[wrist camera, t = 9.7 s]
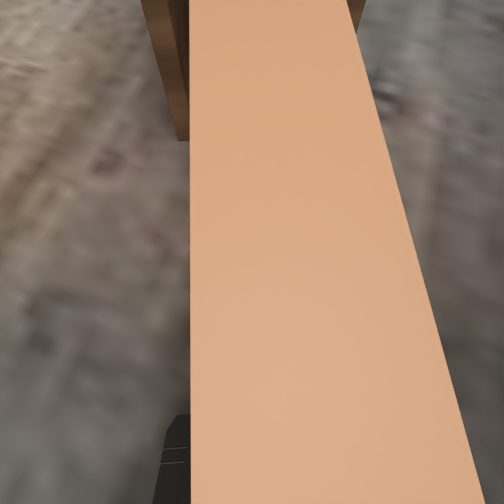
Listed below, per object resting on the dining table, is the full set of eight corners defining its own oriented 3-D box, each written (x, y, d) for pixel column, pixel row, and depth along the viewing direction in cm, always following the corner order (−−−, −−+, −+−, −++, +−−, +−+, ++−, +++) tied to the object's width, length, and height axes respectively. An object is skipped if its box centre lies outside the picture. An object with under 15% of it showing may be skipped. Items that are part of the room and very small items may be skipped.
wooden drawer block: (216, 146, 20) (189, -62, 11) (292, 142, 21) (327, -66, 11) (231, 521, 13) (191, 789, 4) (346, 511, 14) (552, 748, 4)
